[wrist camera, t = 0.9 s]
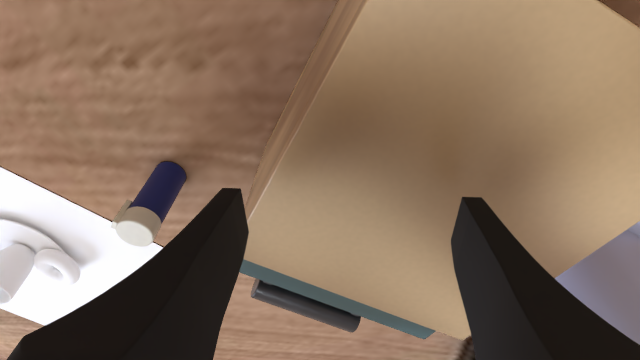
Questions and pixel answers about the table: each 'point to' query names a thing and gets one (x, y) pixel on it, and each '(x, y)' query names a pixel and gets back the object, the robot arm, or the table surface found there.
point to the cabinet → (449, 146)
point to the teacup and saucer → (56, 252)
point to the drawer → (320, 302)
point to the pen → (149, 205)
